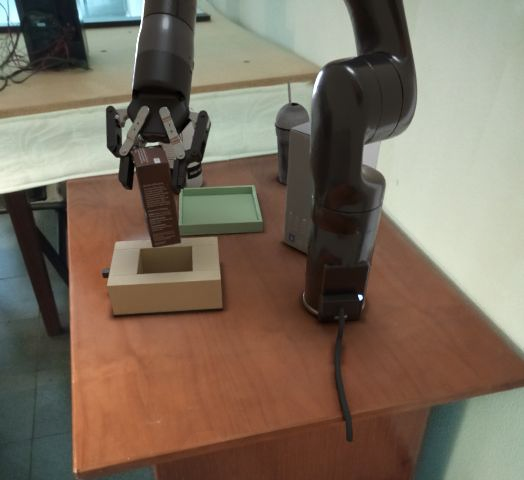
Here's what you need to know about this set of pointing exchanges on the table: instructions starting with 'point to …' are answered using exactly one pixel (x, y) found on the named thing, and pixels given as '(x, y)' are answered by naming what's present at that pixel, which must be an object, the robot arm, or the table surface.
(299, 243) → the hard drive box
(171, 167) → the supplement can
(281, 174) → the beverage cup
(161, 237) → the box
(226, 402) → the table surface
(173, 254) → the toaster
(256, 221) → the tray
